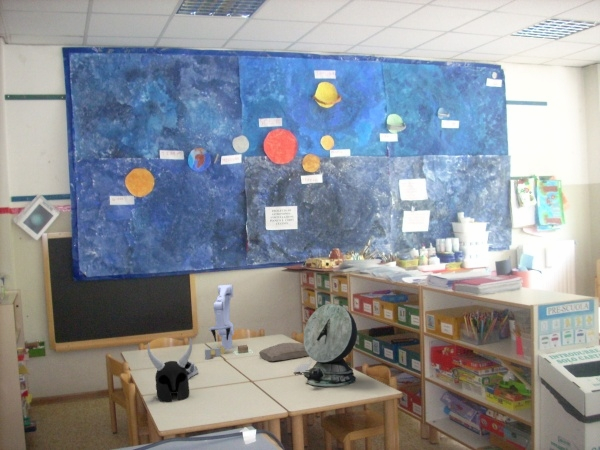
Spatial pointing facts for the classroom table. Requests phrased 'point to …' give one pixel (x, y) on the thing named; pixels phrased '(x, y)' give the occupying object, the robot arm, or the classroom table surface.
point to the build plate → (243, 353)
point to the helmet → (171, 376)
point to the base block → (242, 349)
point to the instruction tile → (212, 353)
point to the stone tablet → (284, 351)
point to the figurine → (303, 367)
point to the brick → (222, 349)
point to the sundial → (330, 345)
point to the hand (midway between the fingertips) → (221, 340)
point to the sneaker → (191, 369)
